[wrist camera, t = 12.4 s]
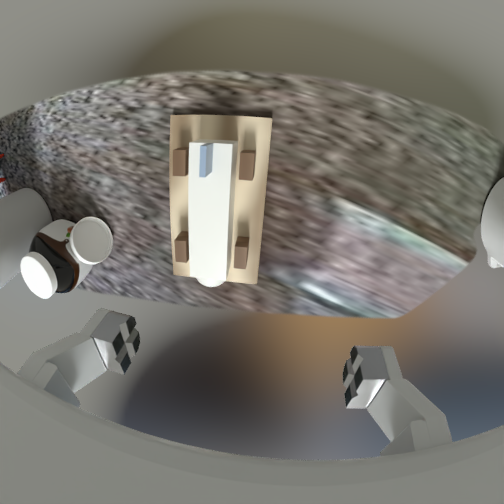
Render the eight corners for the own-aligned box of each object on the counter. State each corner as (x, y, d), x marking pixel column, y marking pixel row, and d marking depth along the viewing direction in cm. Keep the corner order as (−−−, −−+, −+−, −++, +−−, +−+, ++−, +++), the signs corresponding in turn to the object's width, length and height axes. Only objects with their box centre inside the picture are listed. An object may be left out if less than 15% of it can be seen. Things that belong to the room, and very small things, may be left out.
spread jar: (53, 241, 40) (12, 274, 30) (69, 189, 36) (18, 216, 25) (102, 280, 43) (67, 323, 32) (125, 232, 38) (81, 272, 28)
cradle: (272, 118, 30) (272, 118, 26) (257, 280, 40) (255, 296, 36) (173, 115, 30) (161, 115, 27) (175, 271, 40) (167, 286, 37)
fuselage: (238, 140, 30) (227, 146, 24) (230, 276, 39) (221, 310, 32) (200, 139, 31) (180, 145, 24) (199, 273, 39) (184, 305, 32)
